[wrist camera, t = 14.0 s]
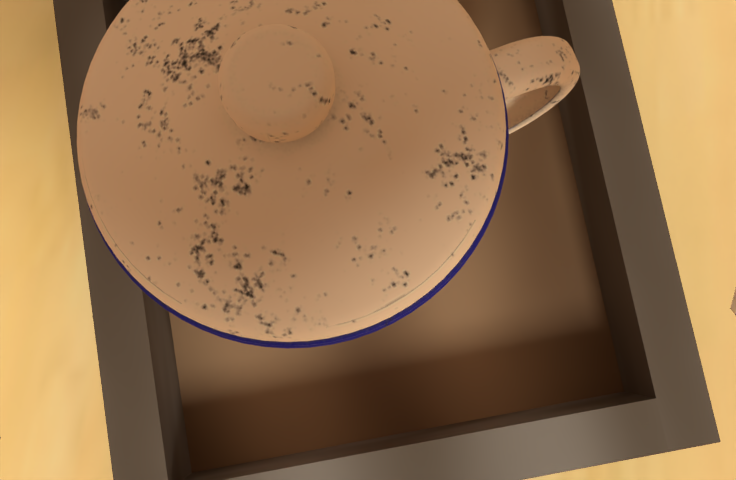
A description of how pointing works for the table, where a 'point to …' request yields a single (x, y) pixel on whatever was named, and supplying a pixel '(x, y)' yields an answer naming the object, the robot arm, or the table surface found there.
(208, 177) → the teacup with lid
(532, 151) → the tray
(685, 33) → the table surface
